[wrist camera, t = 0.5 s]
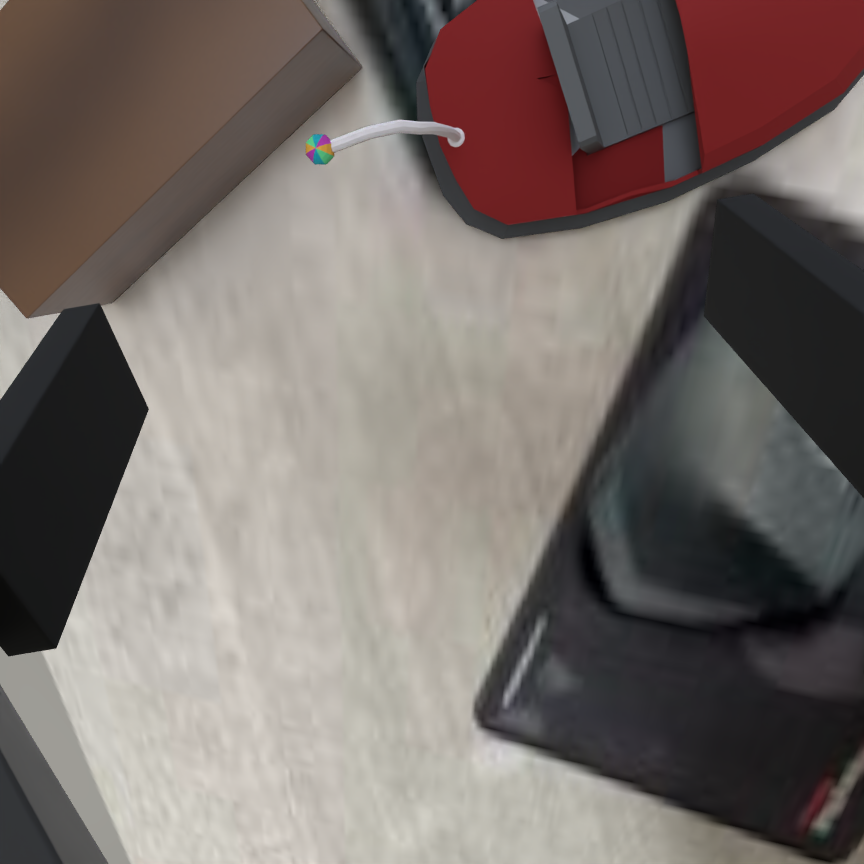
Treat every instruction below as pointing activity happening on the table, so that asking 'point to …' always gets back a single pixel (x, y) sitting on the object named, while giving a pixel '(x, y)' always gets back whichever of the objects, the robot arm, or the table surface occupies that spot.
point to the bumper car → (615, 101)
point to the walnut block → (140, 128)
